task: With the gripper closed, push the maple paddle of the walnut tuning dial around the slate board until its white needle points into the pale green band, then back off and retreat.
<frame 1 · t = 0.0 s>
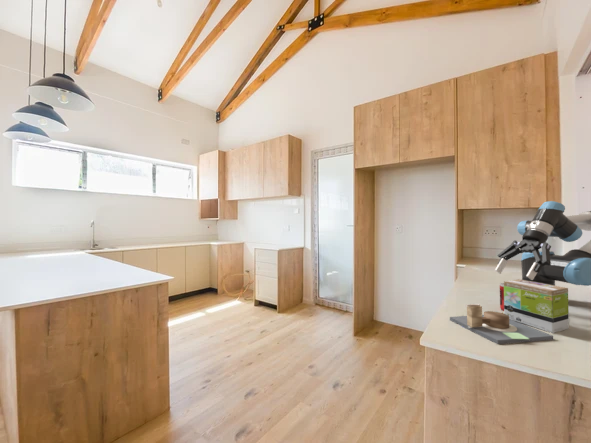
hand: (512, 274, 107), 15 cm above the worktop, tool tilted 35°, fingers open, 13 cm apart
tuner board: (496, 328, 89), on the worktop
dial: (486, 314, 89), point 5 cm above the worktop, hinge at 0.0°
canned food: (512, 311, 107), on the worktop
tea box: (534, 324, 94), on the worktop
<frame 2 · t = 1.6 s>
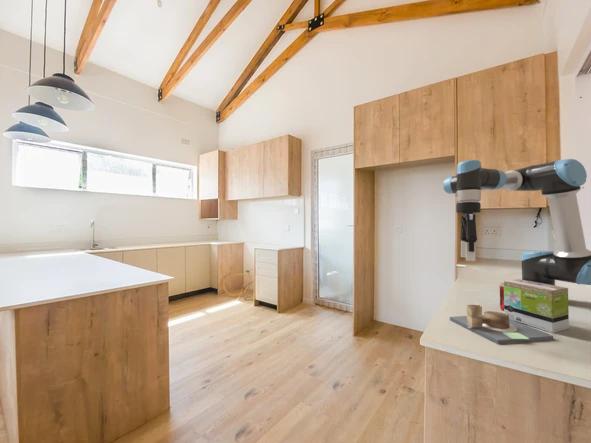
hand: (467, 259, 94), 24 cm above the worktop, tool pointing down, fingers open, 13 cm apart
nothing on the worktop moved.
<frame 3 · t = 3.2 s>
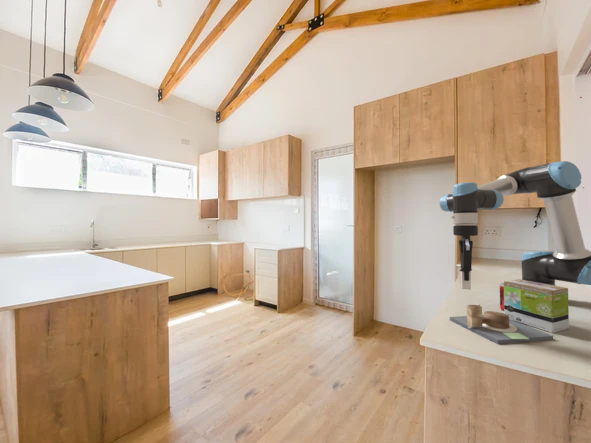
hand: (466, 288, 93), 13 cm above the worktop, tool pointing down, fingers closed
nothing on the worktop moved.
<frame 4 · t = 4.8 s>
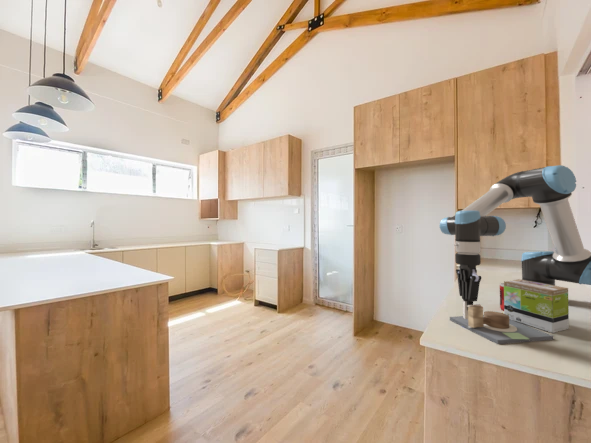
hand: (468, 318, 92), 3 cm above the worktop, tool pointing down, fingers closed
dial: (486, 314, 89), point 5 cm above the worktop, hinge at 3.0°, touching gripper
everything else where it was.
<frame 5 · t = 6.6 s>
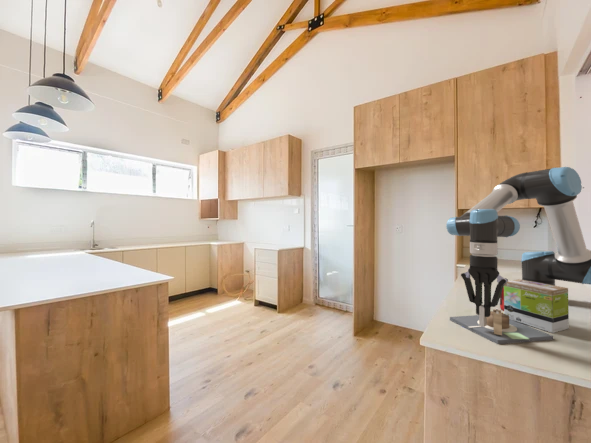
hand: (483, 325, 85), 3 cm above the worktop, tool pointing down, fingers closed
dial: (496, 317, 86), point 5 cm above the worktop, hinge at 46.2°, touching gripper
everything else where it was.
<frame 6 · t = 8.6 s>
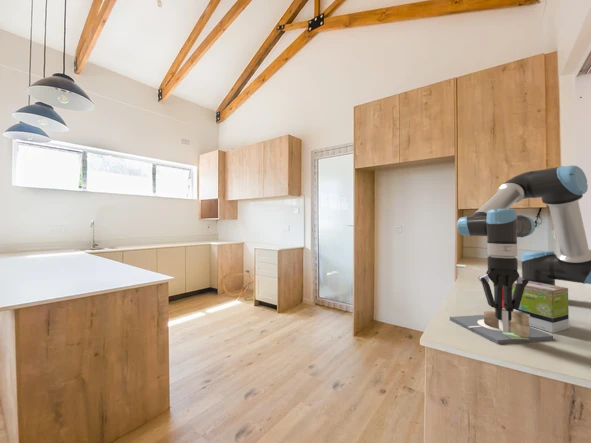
hand: (503, 329, 82), 3 cm above the worktop, tool pointing down, fingers closed
dial: (506, 318, 85), point 5 cm above the worktop, hinge at 87.9°
everything else where it was.
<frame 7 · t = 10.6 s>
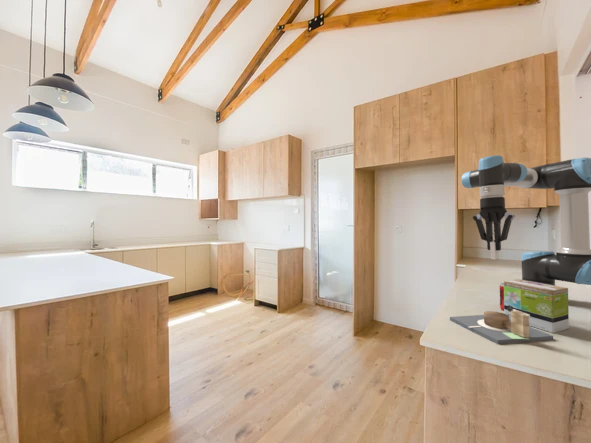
hand: (494, 258, 97), 24 cm above the worktop, tool pointing down, fingers closed
nothing on the worktop moved.
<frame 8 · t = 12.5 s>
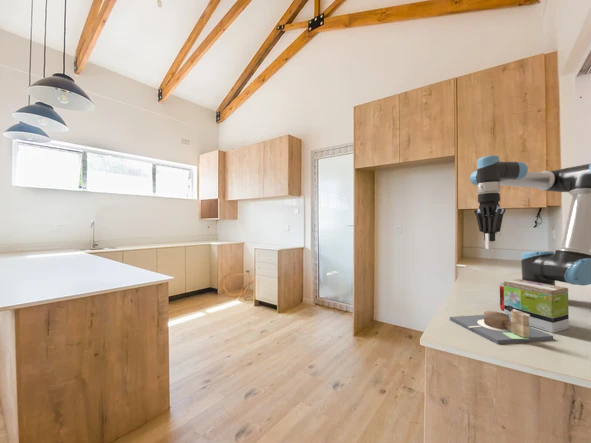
hand: (489, 248, 107), 26 cm above the worktop, tool pointing down, fingers closed
nothing on the worktop moved.
at the end: dial at +88° (first picture: +0°); dial touching nothing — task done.
